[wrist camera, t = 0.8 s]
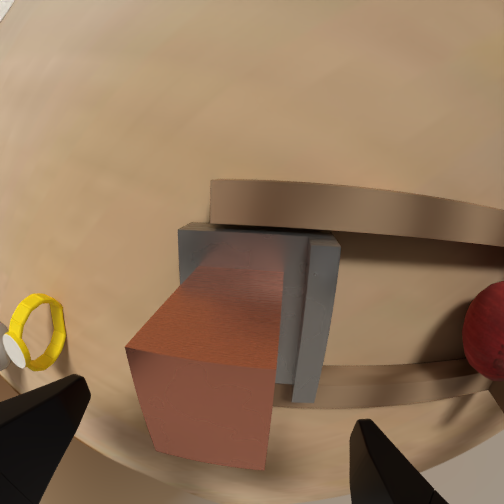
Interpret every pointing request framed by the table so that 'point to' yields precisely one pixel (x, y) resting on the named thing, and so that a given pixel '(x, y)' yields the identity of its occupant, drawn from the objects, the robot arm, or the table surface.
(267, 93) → the table surface
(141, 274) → the table surface
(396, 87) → the table surface
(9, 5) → the spoon
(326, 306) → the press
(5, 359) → the salt shaker
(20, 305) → the watch
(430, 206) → the bench
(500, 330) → the onion
